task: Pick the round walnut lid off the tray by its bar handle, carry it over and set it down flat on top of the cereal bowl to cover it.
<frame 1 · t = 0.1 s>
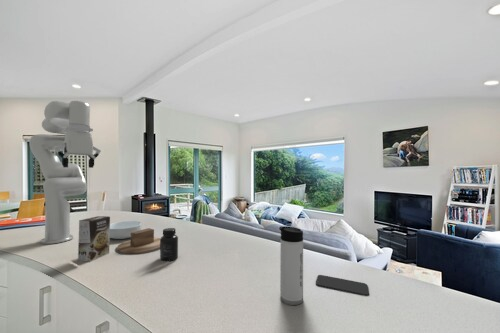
hand: (78, 167, 102), 37 cm above the worktop, tool pointing down, fingers open, 9 cm apart
travel mug: (291, 299, 64), on the worktop
cereal bowl: (123, 238, 120), on the worktop
tray: (142, 247, 105), on the worktop
lid: (142, 246, 105), point 1 cm above the worktop, touching tray
coffee box: (94, 258, 92), on the worktop
phone: (341, 287, 71), on the worktop
supplement bottle: (169, 259, 91), on the worktop
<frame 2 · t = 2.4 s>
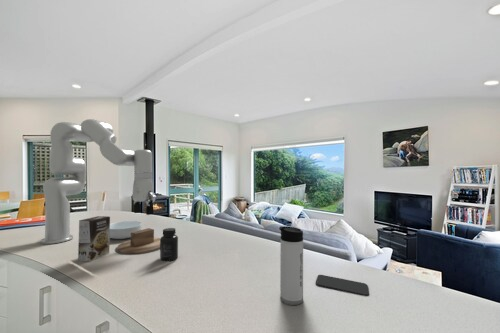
hand: (143, 213, 105), 16 cm above the worktop, tool pointing down, fingers open, 9 cm apart
nothing on the worktop moved.
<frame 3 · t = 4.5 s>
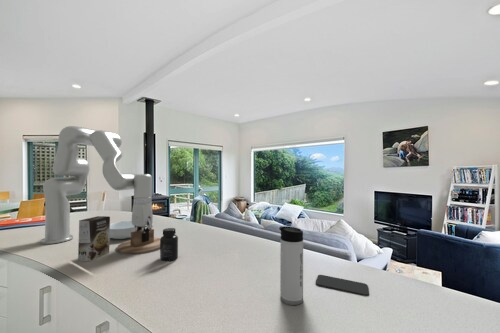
hand: (142, 240, 105), 3 cm above the worktop, tool pointing down, fingers closed on lid, 4 cm apart
lid: (142, 246, 105), point 1 cm above the worktop, touching gripper, tray
everything else where it was.
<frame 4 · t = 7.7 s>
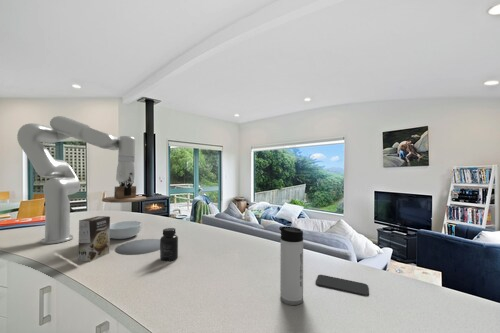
hand: (125, 194, 119), 23 cm above the worktop, tool pointing down, fingers closed on lid, 4 cm apart
lid: (125, 199, 119), point 20 cm above the worktop, touching gripper
everything else where it was.
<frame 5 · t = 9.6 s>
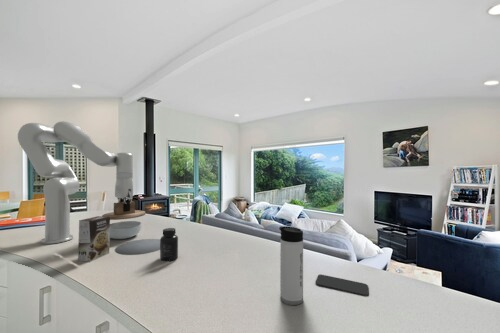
hand: (124, 210, 120), 14 cm above the worktop, tool pointing down, fingers closed on lid, 4 cm apart
lid: (124, 215, 120), point 12 cm above the worktop, touching gripper
everything else where it was.
when the fingers open (11 cm above the worktop, at t = 11.0 s): lid drops 2 cm, resting on cereal bowl.
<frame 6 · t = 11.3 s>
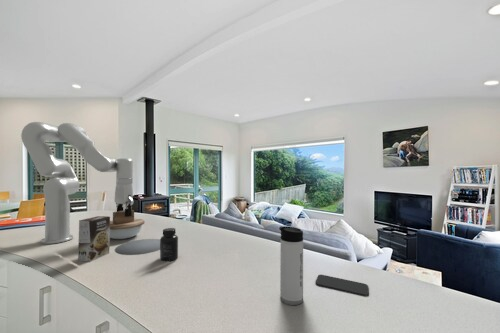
hand: (124, 215, 120), 12 cm above the worktop, tool pointing down, fingers open, 7 cm apart
cereal bowl: (123, 238, 120), on the worktop, touching lid
lid: (123, 224, 120), point 7 cm above the worktop, touching cereal bowl
everything else where it was.
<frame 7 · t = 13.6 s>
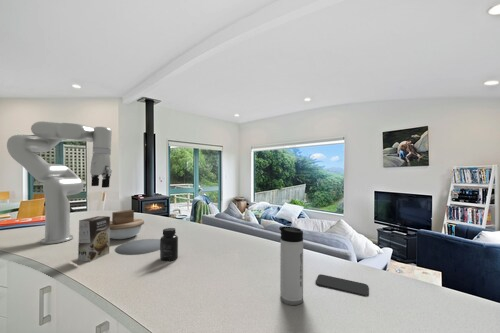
hand: (100, 186, 113), 27 cm above the worktop, tool pointing down, fingers open, 9 cm apart
nothing on the worktop moved.
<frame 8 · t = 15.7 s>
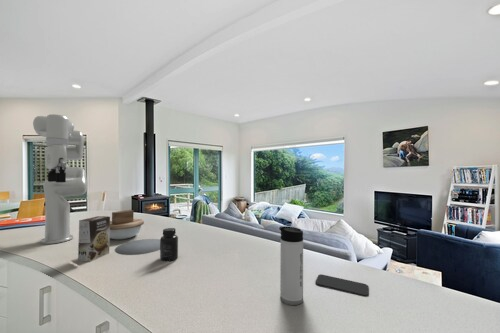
hand: (56, 181, 101), 30 cm above the worktop, tool pointing down, fingers open, 9 cm apart
nothing on the worktop moved.
at the end: lid 0.2 cm off-centre on the cereal bowl, point 7.2 cm above the cereal bowl's base; lid tilted 0°; the gripper is holding nothing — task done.
